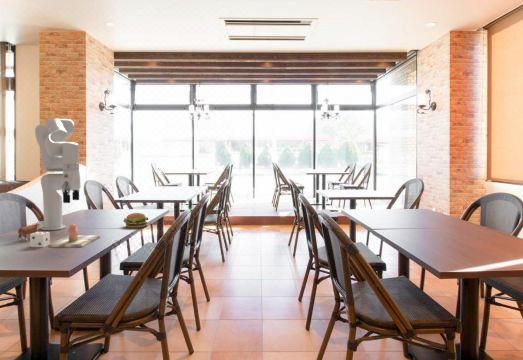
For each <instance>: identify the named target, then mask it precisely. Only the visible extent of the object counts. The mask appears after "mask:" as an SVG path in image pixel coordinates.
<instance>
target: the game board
mask: <svg viewBox="0 0 523 360" xmlns="http://www.w3.org/2000/svg"><path fill="white" fill-rule="evenodd" d="M99 238H101V235H97V234H95V235H89V234H88V235H87V234H86V235H83V234H82V235H80V234H79V235H78V241H73V242H70V241H69V235H67V236H65V237H63V238H60V239H58V240H55V241H54V242H50V244H49V245H47V246H48V247H49V248H84V247H86V246H87V245H90V243H92V242H94V241H96V240H98V239H99Z"/></svg>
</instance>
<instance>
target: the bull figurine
mask: <svg viewBox="0 0 523 360" xmlns="http://www.w3.org/2000/svg"><path fill="white" fill-rule="evenodd" d="M42 227H43V226H42V225H41V223H39V222H38V221H37V222H34V223H32V224H29V225H27V226H22V227H20V228H18V230H17V232H18V237H17V238H18V241H19V242H22V240H21V238H22V239H23V240H25V241H27V242H30V240H29V239H28V237H29V236H30V234H32V233H35V232H38V230H39V229H41V228H42Z"/></svg>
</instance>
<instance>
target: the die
mask: <svg viewBox="0 0 523 360" xmlns="http://www.w3.org/2000/svg"><path fill="white" fill-rule="evenodd" d="M50 235H51V232H50V231H36V232H35V233H32V234H29V239H30V240H29V242H30V243H29V244H30V248H44V247H47V246H48V245H49V244H51V236H50Z"/></svg>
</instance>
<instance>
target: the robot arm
mask: <svg viewBox="0 0 523 360" xmlns="http://www.w3.org/2000/svg"><path fill="white" fill-rule="evenodd" d="M34 129H35V130H34V134H35V138H36V142H37V144H38V147H39V148H40V149H39V150H40V157H41V166H42V169H43V171H44V172H47V173H46V174H44V175H42V176H41V178H40V185H41V189H42V190H41V192H42V200H43V202H42V204H43V206H42V207H43V208H42V209H43V220H42V221H40V220H38V221H37V222H39V223H41V225H42V226H43V227H42V228H40V229H41V230H42V231H55V230H56V231H57V230H62V229H65V228H66V225H65V224H63V223H64V222H63V204H70V203H71V198H72V200H73V201H79V200H80V189H81V175H80V151H79V150H80V148H79V143H77V142H74V141H67V139H69V138H71V137H72V135H74V133H75V131H76V125H75V123H74V121H73V120H72V119H69V118H56V117H55V118H54V117H53V118H49V119H47V120H46V122H45V123H42V124H37V125H36V126H35V128H34ZM48 172H50V173H48ZM59 172H60V173H59ZM61 172H62V173H61ZM58 191H61V192H62V196H61V195H60V193H59V192H58ZM70 192H72V193H71V194H72V197H71V194H70Z"/></svg>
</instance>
